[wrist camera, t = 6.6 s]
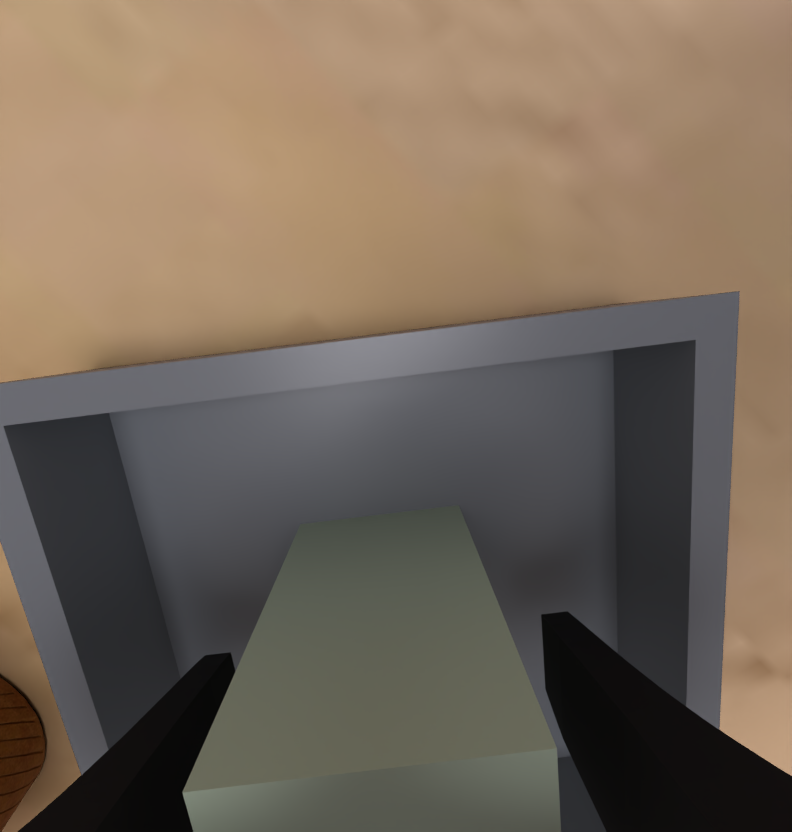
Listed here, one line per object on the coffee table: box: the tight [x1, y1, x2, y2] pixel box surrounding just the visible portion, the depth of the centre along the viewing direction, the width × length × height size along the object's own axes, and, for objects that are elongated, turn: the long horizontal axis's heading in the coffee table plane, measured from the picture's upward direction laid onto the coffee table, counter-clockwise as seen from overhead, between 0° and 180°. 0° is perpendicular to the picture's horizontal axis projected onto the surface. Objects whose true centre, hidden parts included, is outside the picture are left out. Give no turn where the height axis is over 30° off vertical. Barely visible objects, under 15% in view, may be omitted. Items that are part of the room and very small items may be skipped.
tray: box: [0, 291, 740, 832], centre depth 11 cm, size 15×15×4 cm
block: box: [182, 505, 561, 832], centre depth 9 cm, size 4×4×7 cm
